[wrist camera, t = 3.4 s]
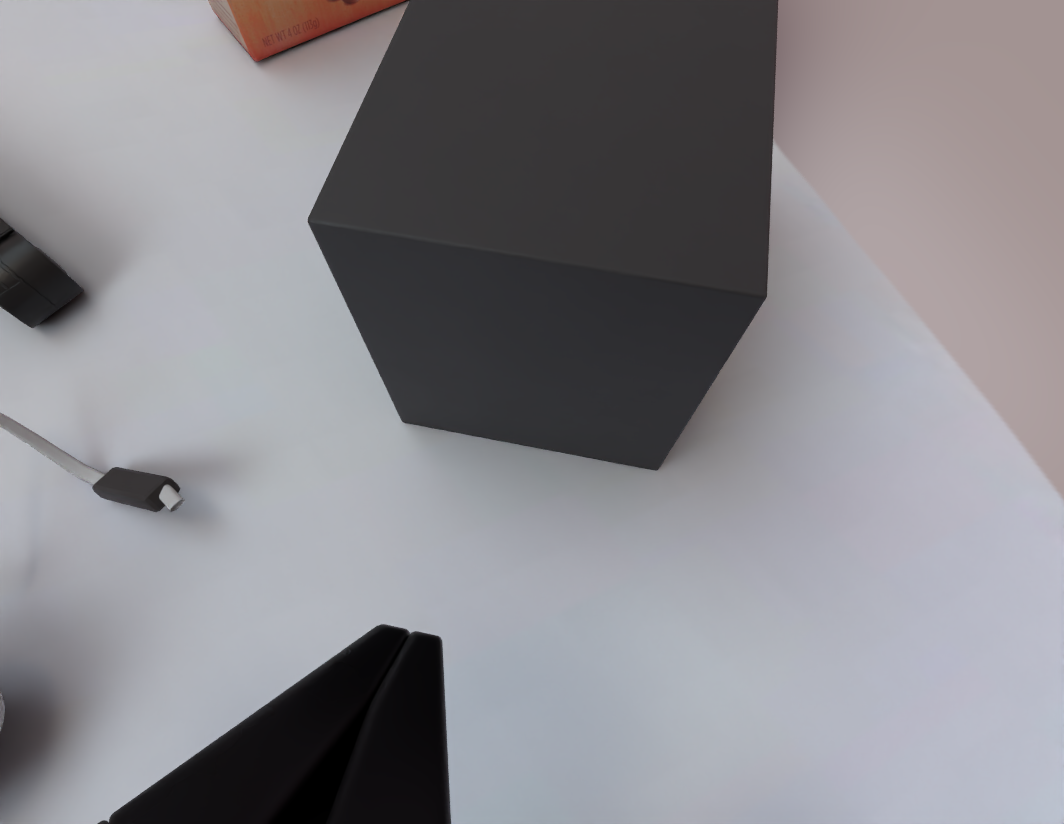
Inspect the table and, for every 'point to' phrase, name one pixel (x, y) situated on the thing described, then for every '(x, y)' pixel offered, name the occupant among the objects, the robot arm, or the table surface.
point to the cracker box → (288, 20)
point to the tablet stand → (31, 279)
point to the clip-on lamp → (103, 482)
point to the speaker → (558, 215)
